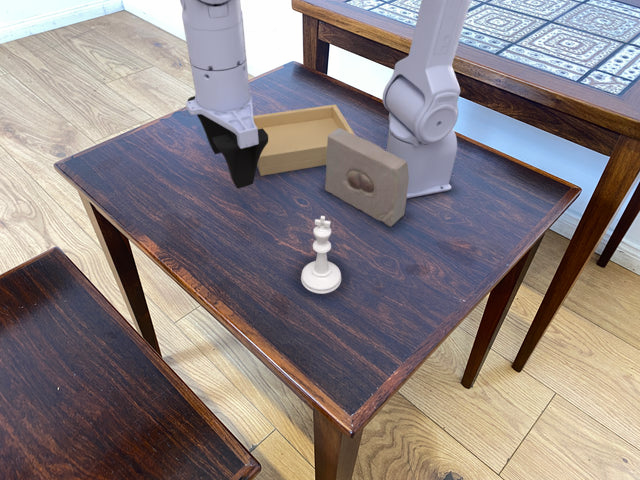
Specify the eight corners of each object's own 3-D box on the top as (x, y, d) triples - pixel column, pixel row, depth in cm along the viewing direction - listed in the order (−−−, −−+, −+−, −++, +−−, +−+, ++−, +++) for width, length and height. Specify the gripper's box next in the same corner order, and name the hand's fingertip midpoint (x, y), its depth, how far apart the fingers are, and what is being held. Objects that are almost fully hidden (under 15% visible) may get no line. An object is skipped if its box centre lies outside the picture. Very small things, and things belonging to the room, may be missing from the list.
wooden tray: (335, 122, 87) (335, 104, 85) (357, 159, 79) (359, 141, 77) (246, 135, 84) (244, 116, 81) (260, 176, 76) (259, 156, 73)
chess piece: (337, 296, 59) (341, 235, 52) (296, 290, 60) (295, 229, 53) (344, 267, 63) (348, 206, 56) (306, 260, 63) (305, 199, 56)
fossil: (323, 191, 73) (324, 135, 67) (338, 180, 75) (341, 124, 69) (390, 228, 68) (399, 171, 61) (405, 215, 70) (415, 159, 63)
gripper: (160, 39, 54) (182, 145, 64) (202, 98, 45) (221, 212, 55) (222, 28, 57) (235, 131, 66) (274, 82, 48) (280, 194, 57)
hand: (232, 167), depth 61 cm, fingers open, 7 cm apart
